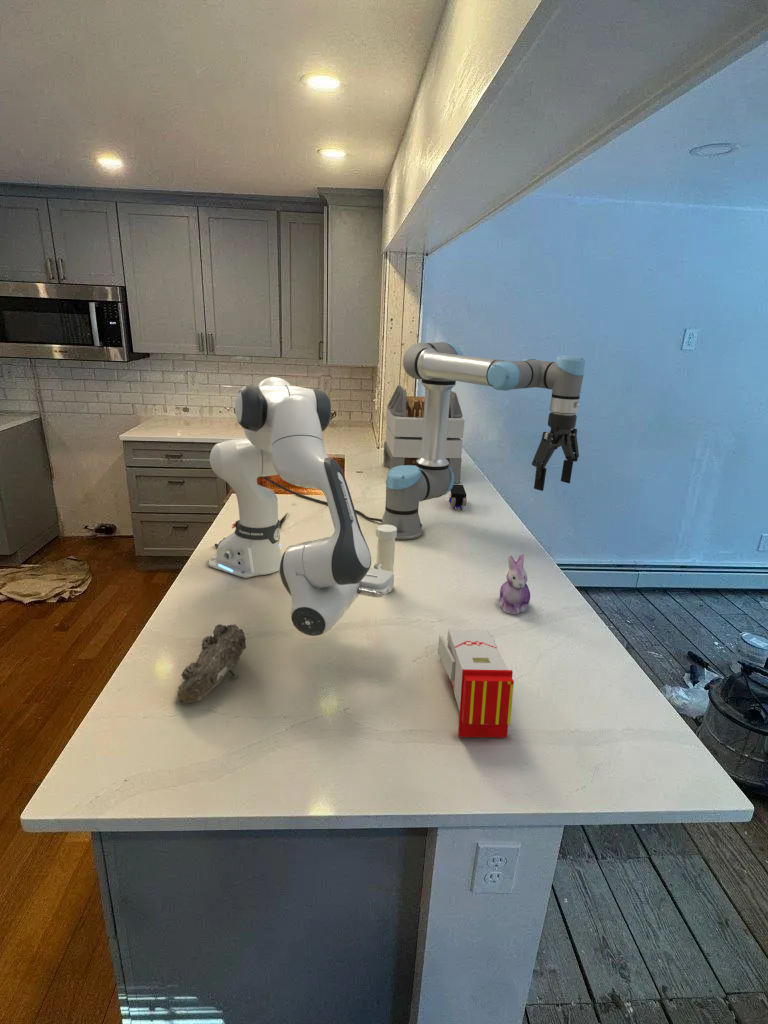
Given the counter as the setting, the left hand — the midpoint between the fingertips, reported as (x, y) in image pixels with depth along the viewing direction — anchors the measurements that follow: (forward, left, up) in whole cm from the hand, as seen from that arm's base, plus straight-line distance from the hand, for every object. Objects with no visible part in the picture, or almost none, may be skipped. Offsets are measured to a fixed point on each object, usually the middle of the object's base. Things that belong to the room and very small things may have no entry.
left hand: (360, 563), depth 136 cm
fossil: (-21, -30, -17) cm, 40 cm away
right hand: (+41, +50, +11) cm, 66 cm away
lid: (0, +21, +1) cm, 21 cm away
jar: (0, +21, -17) cm, 27 cm away
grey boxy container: (-21, +142, -17) cm, 145 cm away
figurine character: (+5, +101, -17) cm, 102 cm away
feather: (-52, +62, -17) cm, 82 cm away
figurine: (+36, +25, -17) cm, 47 cm away
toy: (+31, -16, -17) cm, 39 cm away
